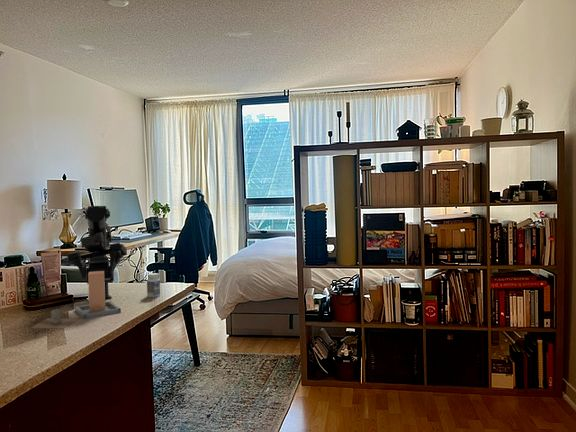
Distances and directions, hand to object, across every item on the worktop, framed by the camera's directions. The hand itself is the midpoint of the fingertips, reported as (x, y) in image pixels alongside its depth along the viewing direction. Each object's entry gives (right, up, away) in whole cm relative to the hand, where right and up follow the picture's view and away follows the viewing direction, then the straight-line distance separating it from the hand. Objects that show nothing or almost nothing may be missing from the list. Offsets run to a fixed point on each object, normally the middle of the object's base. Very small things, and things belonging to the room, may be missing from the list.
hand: (97, 276), depth 147 cm
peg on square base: (-4, -12, -18) cm, 22 cm away
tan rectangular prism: (+3, -10, -7) cm, 13 cm away
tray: (+3, -11, -6) cm, 13 cm away
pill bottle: (+14, -10, +17) cm, 24 cm away
